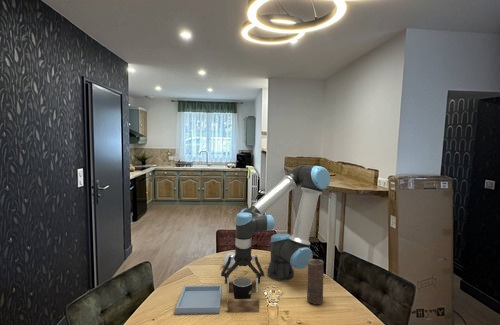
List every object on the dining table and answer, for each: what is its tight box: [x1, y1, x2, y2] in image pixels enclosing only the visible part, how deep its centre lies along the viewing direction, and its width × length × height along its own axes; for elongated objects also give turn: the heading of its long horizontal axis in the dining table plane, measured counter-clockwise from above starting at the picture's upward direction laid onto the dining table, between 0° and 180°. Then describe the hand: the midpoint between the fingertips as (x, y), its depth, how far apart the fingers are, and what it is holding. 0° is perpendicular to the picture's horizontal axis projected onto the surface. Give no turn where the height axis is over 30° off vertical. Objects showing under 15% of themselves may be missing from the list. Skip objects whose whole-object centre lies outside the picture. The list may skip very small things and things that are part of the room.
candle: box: [306, 258, 325, 305], centre depth 128 cm, size 8×7×20 cm
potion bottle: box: [222, 251, 235, 270], centre depth 167 cm, size 9×10×15 cm
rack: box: [227, 280, 260, 313], centre depth 129 cm, size 14×18×5 cm
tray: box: [175, 284, 223, 316], centre depth 128 cm, size 19×19×3 cm
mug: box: [233, 276, 253, 299], centre depth 129 cm, size 12×9×10 cm
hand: (242, 290), depth 129 cm, fingers open, 13 cm apart
